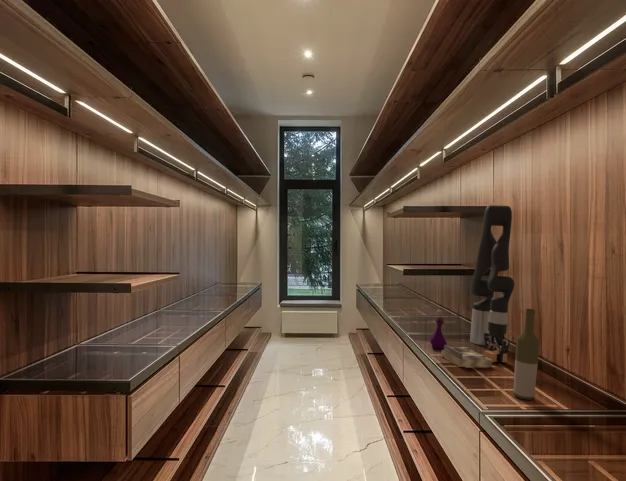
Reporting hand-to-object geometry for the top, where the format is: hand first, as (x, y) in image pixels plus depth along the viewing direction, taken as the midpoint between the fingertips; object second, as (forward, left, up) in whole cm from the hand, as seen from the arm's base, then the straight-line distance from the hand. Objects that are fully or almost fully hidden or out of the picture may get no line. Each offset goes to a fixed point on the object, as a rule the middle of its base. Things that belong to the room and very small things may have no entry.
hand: (494, 359), depth 174 cm
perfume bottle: (+16, -20, -1) cm, 26 cm away
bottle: (+17, +36, -1) cm, 40 cm away
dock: (+15, 0, -1) cm, 15 cm away
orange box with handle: (0, 0, -1) cm, 1 cm away
